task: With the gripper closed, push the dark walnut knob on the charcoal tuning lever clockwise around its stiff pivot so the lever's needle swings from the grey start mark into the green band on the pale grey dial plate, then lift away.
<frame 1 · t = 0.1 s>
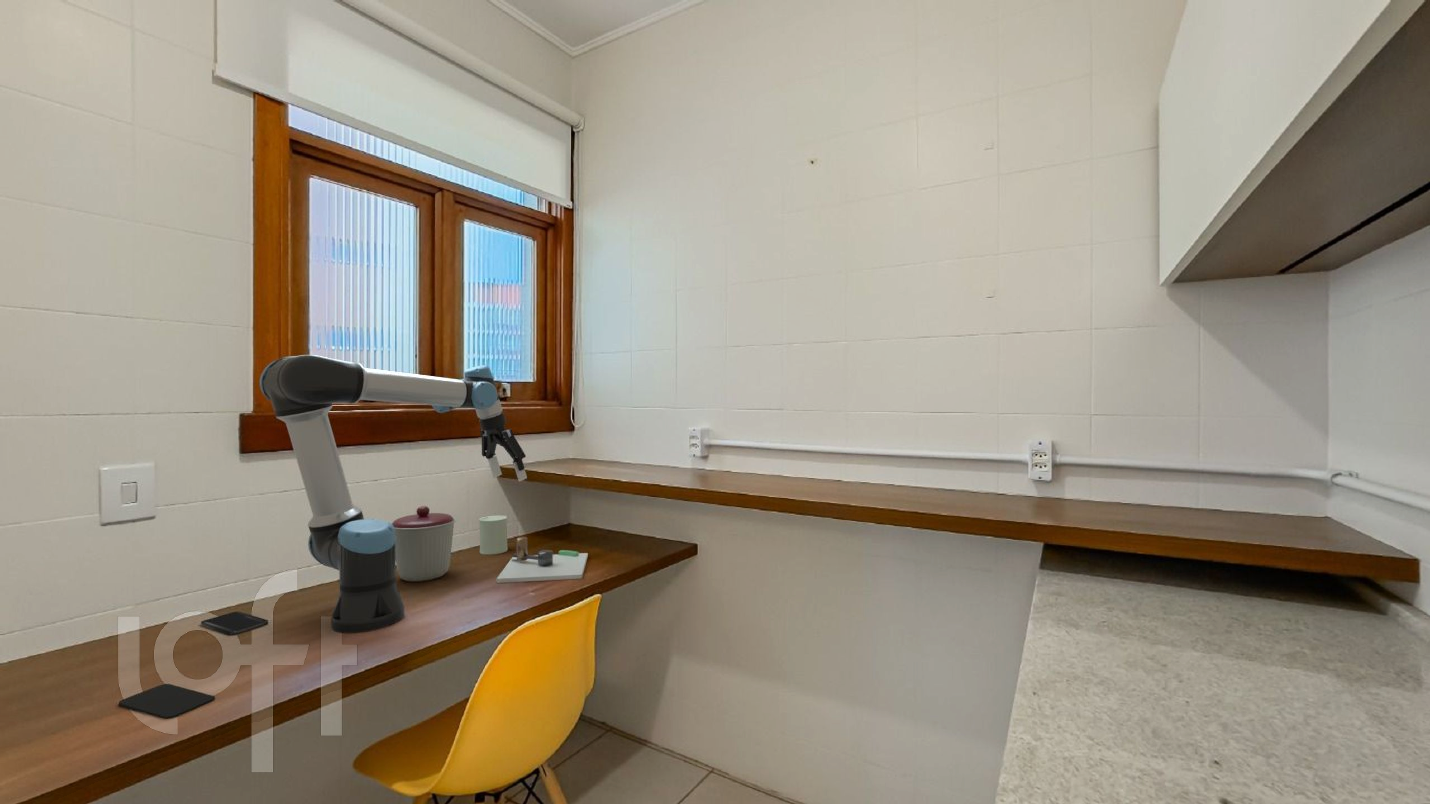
hand: (510, 477, 189), 28 cm above the counter, tool tilted 20°, fingers open, 13 cm apart
can: (493, 551, 206), on the counter
phone 2: (235, 626, 141), on the counter
tuning lever: (532, 550, 186), point 5 cm above the counter, hinge at 0.0°
dial plate: (545, 568, 184), on the counter
phone: (167, 705, 105), on the counter
canister: (424, 577, 177), on the counter
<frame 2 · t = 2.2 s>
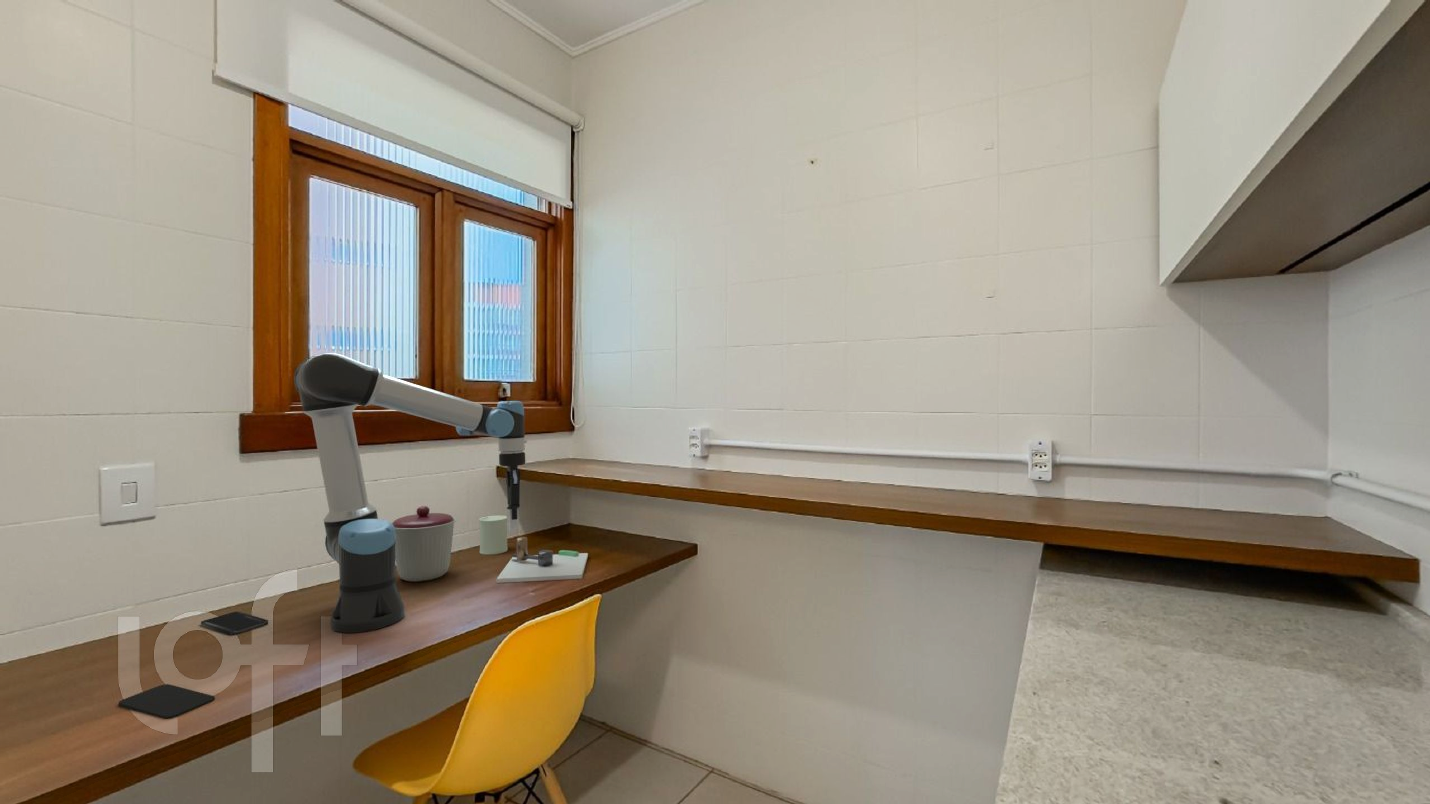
hand: (514, 529, 180), 13 cm above the counter, tool pointing down, fingers closed
nothing on the counter moved.
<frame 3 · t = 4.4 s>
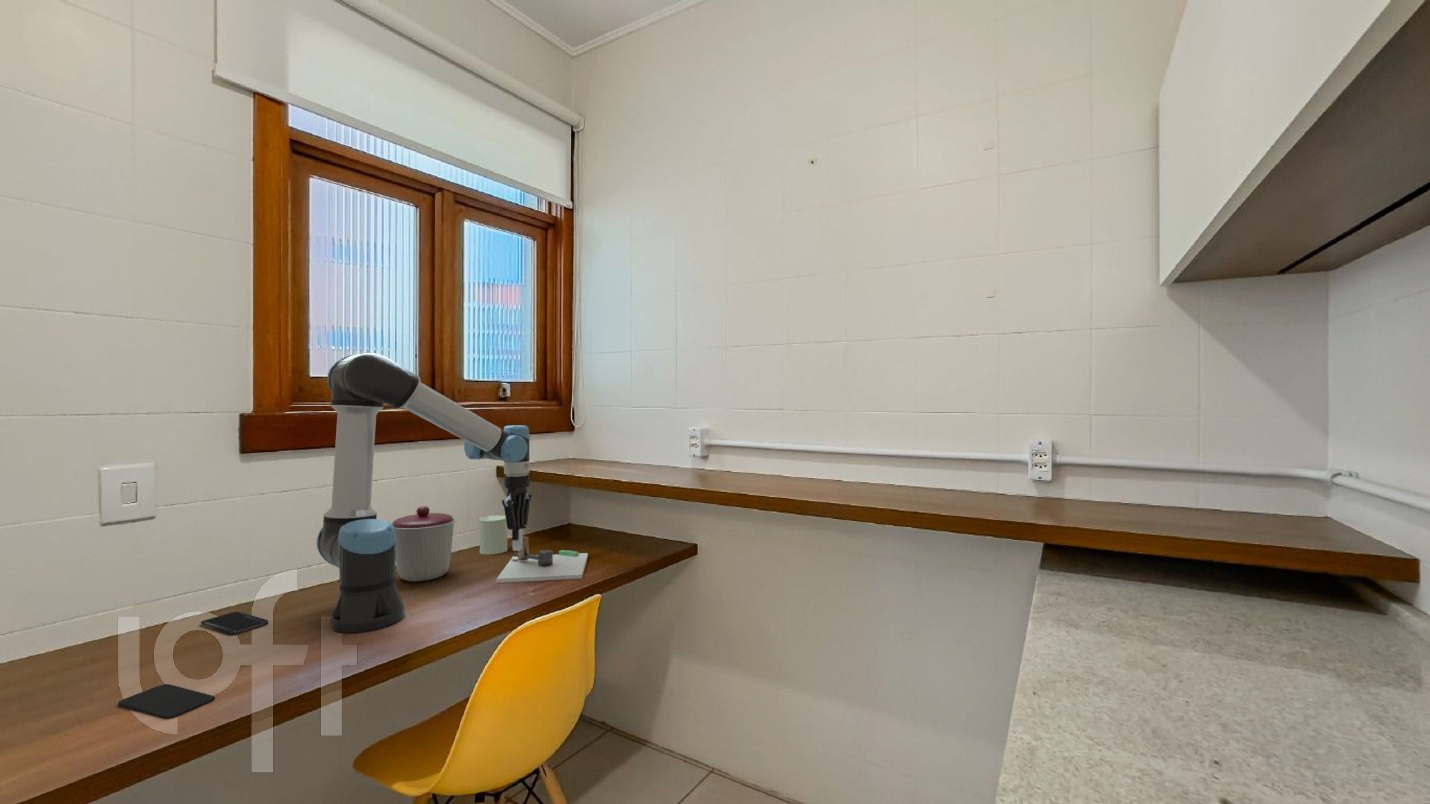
hand: (517, 549, 186), 6 cm above the counter, tool pointing down, fingers closed
tuning lever: (533, 550, 186), point 5 cm above the counter, hinge at -3.5°, touching gripper
everything else where it was.
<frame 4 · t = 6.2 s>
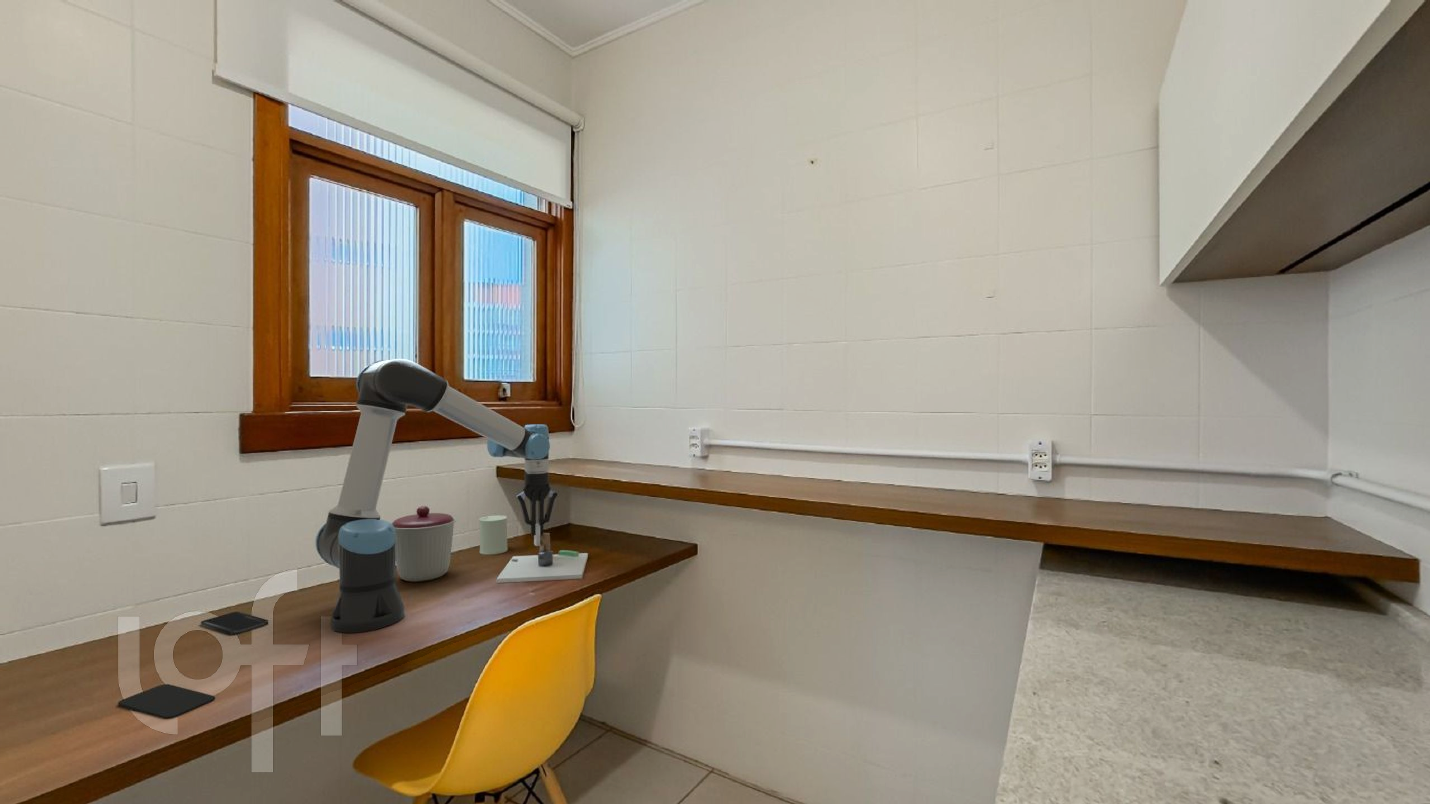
hand: (537, 544, 192), 5 cm above the counter, tool pointing down, fingers closed
tuning lever: (545, 548, 189), point 5 cm above the counter, hinge at -50.8°, touching gripper
everything else where it was.
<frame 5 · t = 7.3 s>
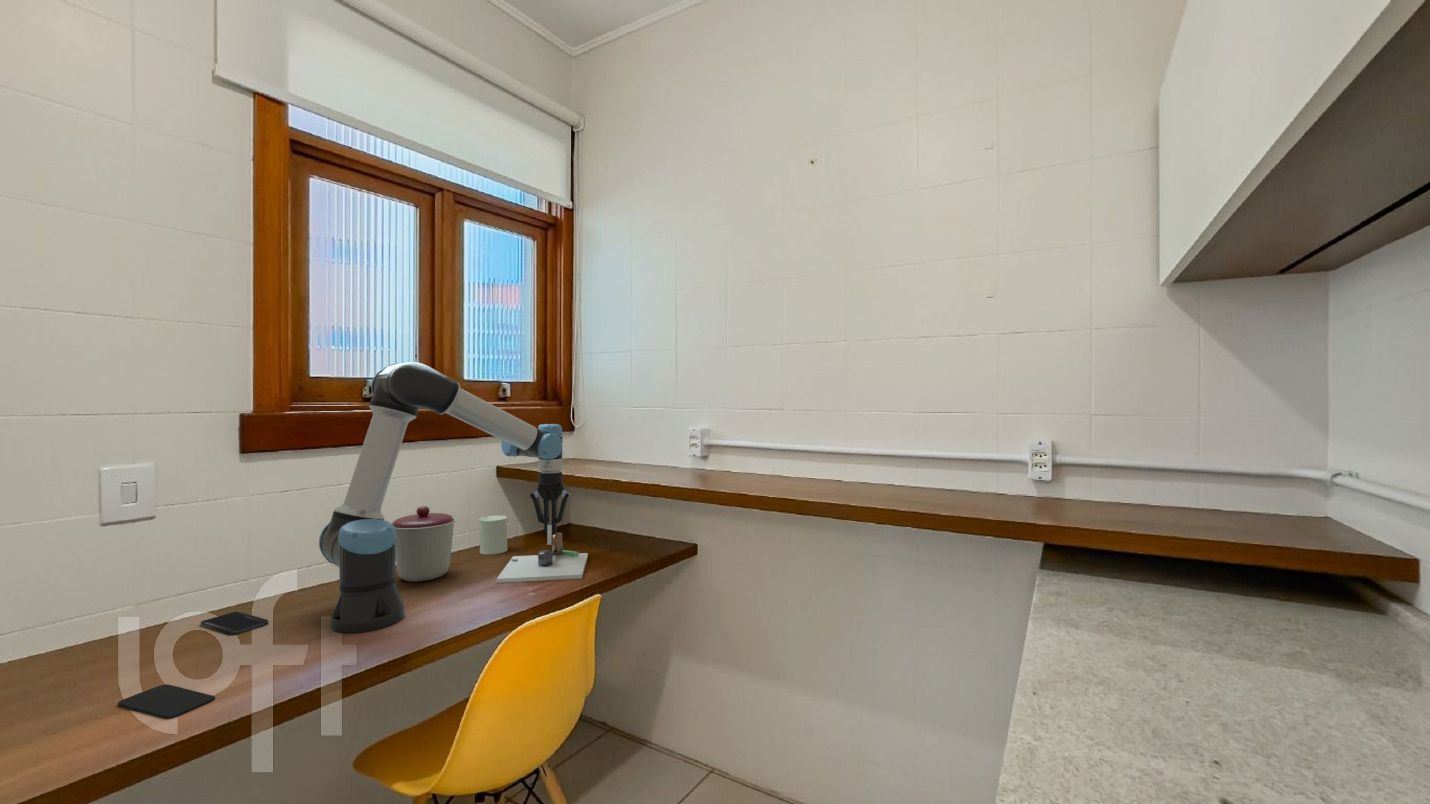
hand: (550, 543, 193), 5 cm above the counter, tool pointing down, fingers closed
tuning lever: (551, 548, 189), point 5 cm above the counter, hinge at -76.3°, touching gripper
everything else where it was.
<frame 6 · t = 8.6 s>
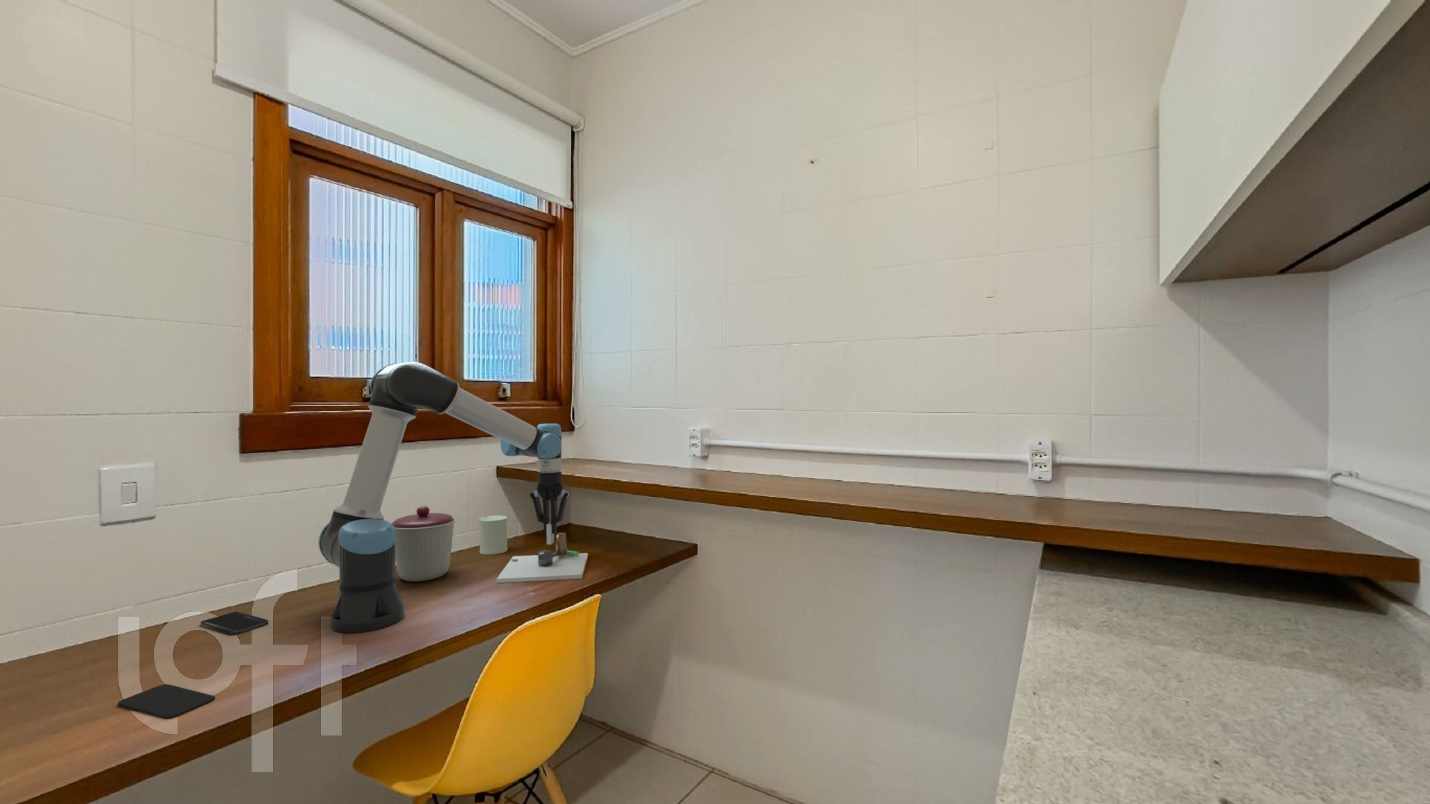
hand: (550, 543, 193), 6 cm above the counter, tool pointing down, fingers closed
tuning lever: (554, 548, 189), point 5 cm above the counter, hinge at -84.5°
everything else where it was.
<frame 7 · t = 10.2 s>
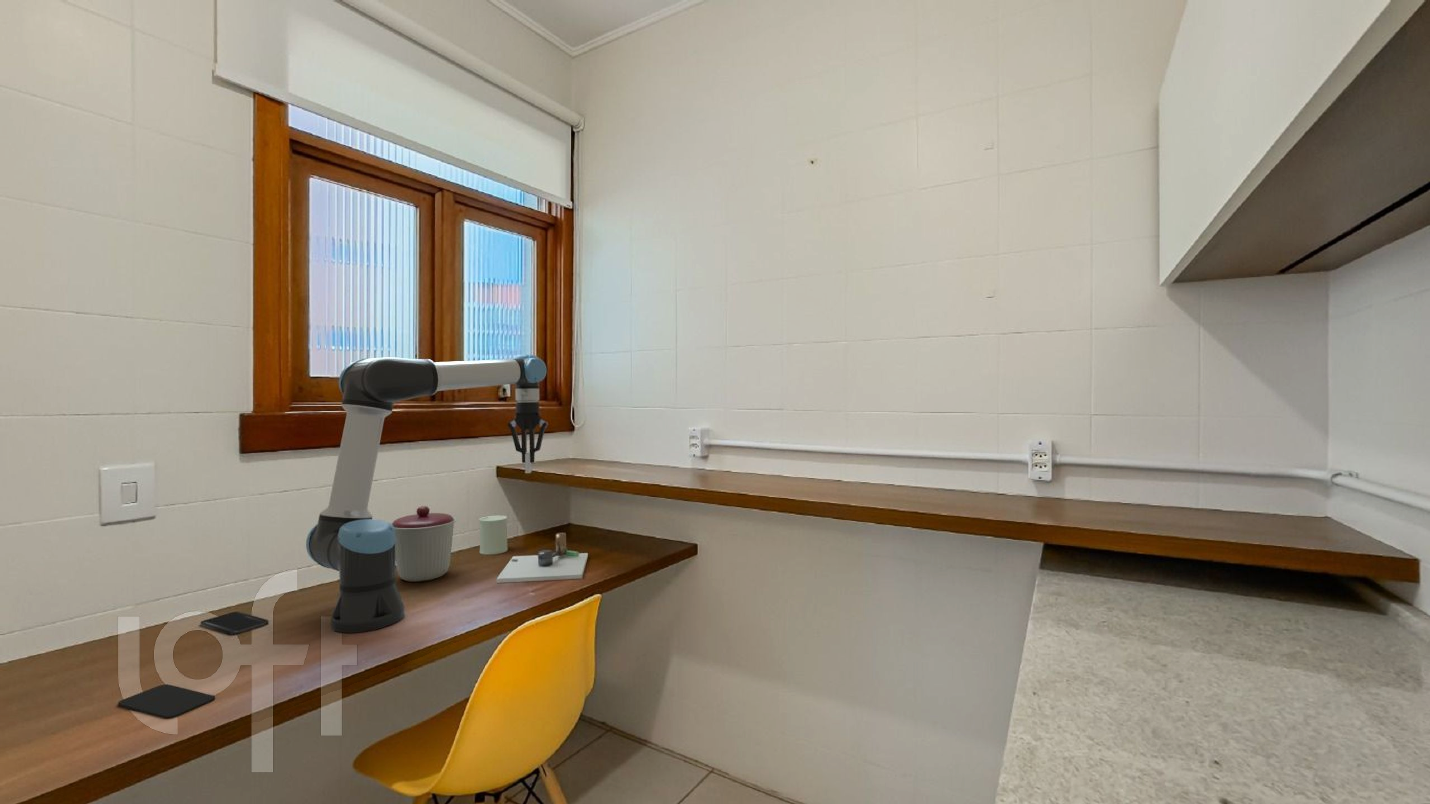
hand: (528, 472, 197), 28 cm above the counter, tool pointing down, fingers closed
nothing on the counter moved.
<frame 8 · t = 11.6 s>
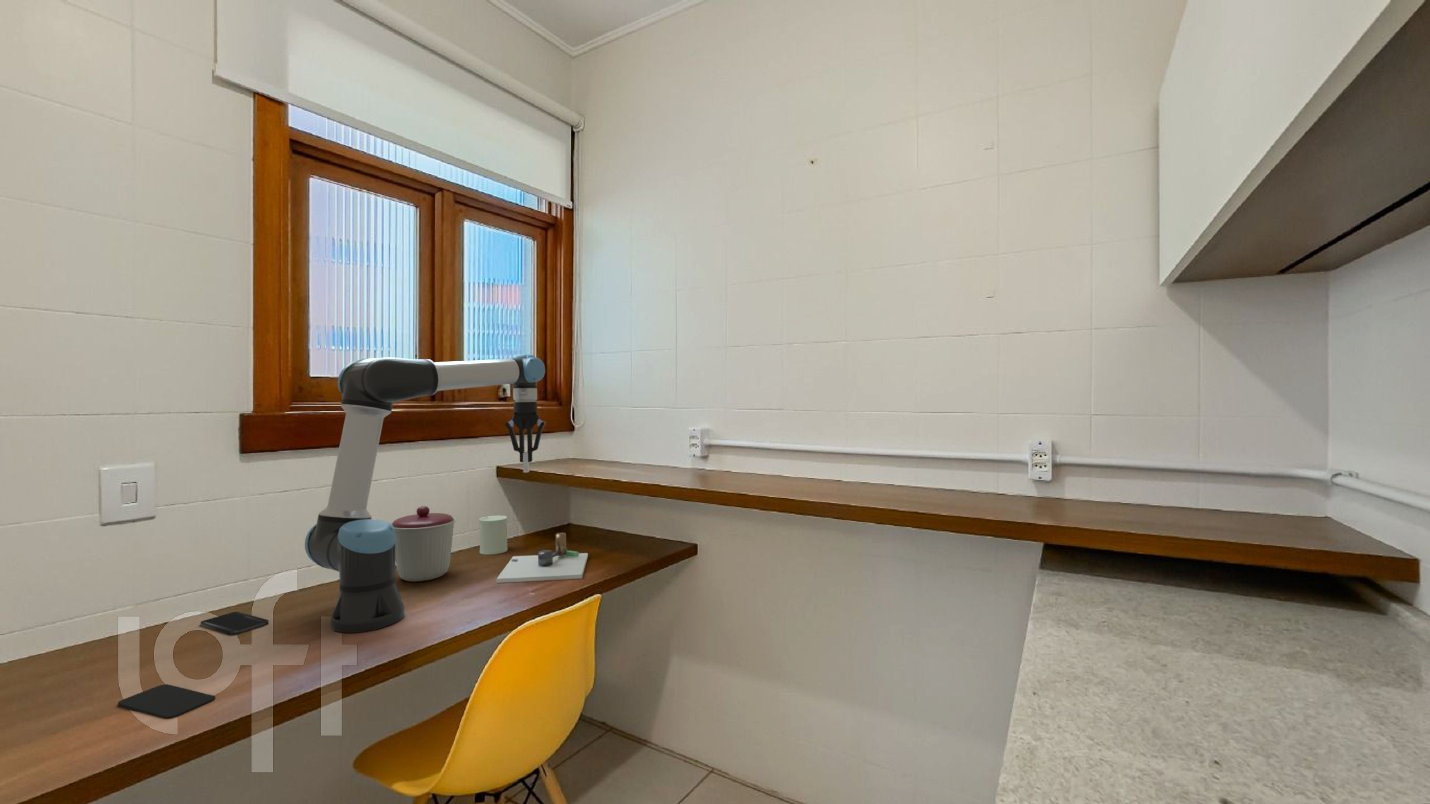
hand: (526, 472, 197), 28 cm above the counter, tool pointing down, fingers closed
nothing on the counter moved.
at the end: tuning lever at -84° (first picture: +0°); can moved 0.2 cm from its start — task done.
